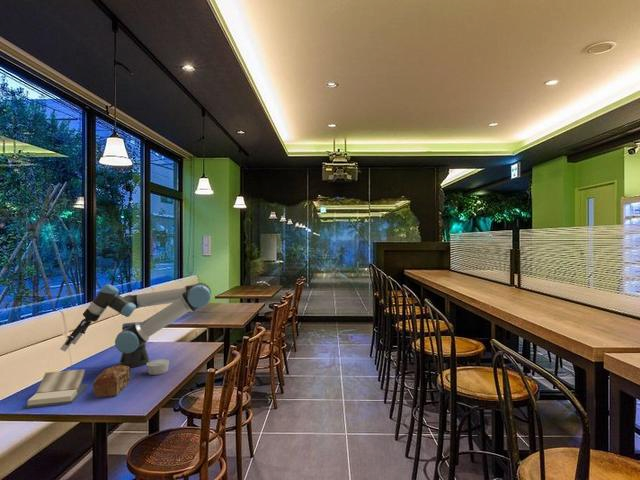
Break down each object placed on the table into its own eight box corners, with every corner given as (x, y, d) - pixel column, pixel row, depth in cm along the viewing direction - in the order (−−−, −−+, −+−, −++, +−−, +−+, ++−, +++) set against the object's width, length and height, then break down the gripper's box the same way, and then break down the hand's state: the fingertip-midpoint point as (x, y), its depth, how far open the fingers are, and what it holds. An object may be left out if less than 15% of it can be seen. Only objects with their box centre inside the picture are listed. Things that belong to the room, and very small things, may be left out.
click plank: (84, 372, 188) (84, 369, 187) (78, 391, 179) (77, 388, 178) (46, 375, 184) (45, 372, 183) (37, 395, 175) (36, 392, 174)
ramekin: (146, 377, 201) (146, 366, 201) (146, 370, 211) (146, 360, 211) (169, 373, 205) (169, 363, 205) (168, 367, 215) (168, 357, 215)
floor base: (86, 386, 189) (86, 380, 189) (72, 403, 170) (72, 395, 170) (46, 390, 185) (46, 383, 185) (26, 408, 165) (26, 400, 165)
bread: (117, 397, 176) (117, 374, 176) (91, 398, 175) (91, 376, 174) (131, 382, 194) (131, 361, 194) (108, 383, 193) (108, 362, 193)
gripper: (94, 304, 218) (69, 337, 215) (79, 311, 194) (51, 349, 191) (106, 311, 219) (82, 344, 216) (93, 320, 195) (65, 357, 192)
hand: (67, 346), depth 203 cm, fingers open, 13 cm apart
